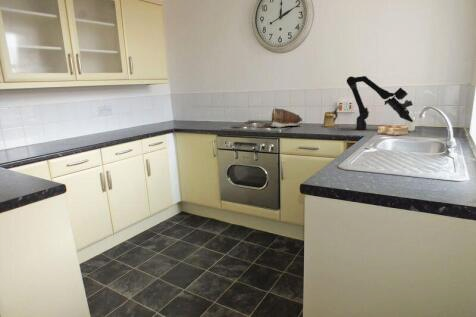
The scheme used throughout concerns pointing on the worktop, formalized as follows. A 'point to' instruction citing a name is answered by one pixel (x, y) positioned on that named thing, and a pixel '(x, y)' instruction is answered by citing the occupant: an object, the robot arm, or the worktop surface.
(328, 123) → the wooden mug
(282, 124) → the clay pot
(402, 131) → the pine crate
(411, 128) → the white crate
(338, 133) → the worktop surface
